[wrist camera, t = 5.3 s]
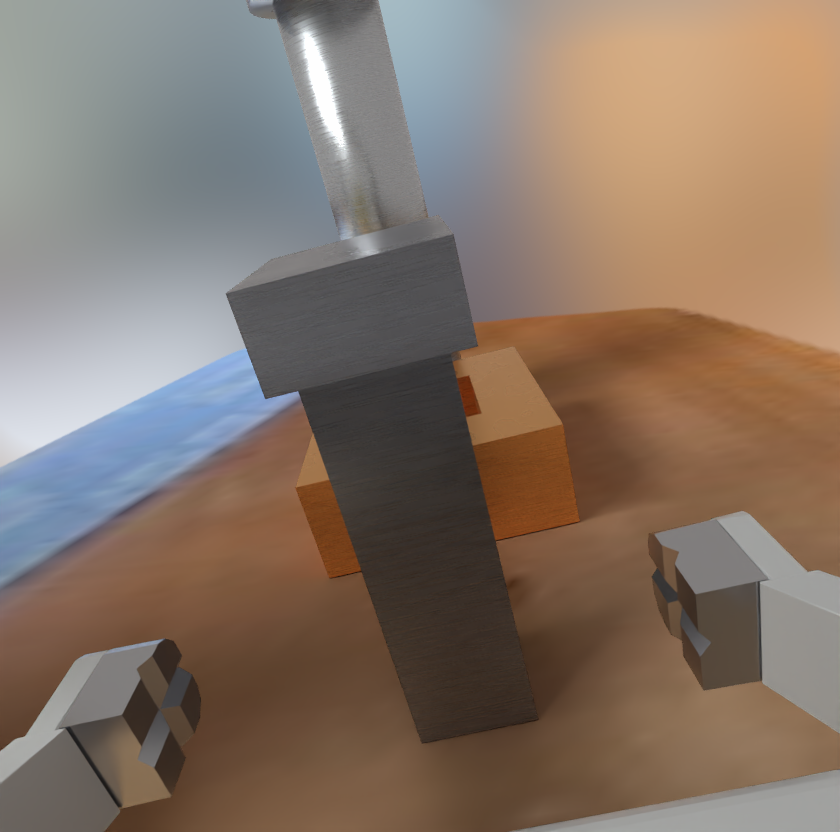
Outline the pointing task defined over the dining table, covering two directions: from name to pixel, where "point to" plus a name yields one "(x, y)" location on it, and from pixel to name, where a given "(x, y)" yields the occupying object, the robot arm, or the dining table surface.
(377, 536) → the grey square peg
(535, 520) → the metal post on base
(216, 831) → the dining table surface
